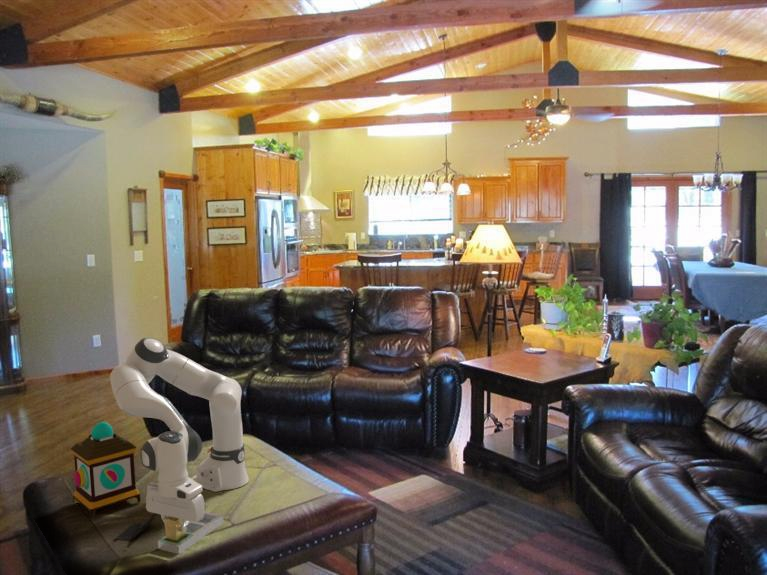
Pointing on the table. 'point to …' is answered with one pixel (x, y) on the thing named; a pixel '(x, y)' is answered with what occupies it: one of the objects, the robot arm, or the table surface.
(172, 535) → the tan rectangular block
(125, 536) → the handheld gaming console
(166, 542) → the white compartment tray
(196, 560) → the table surface
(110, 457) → the decorative lantern
